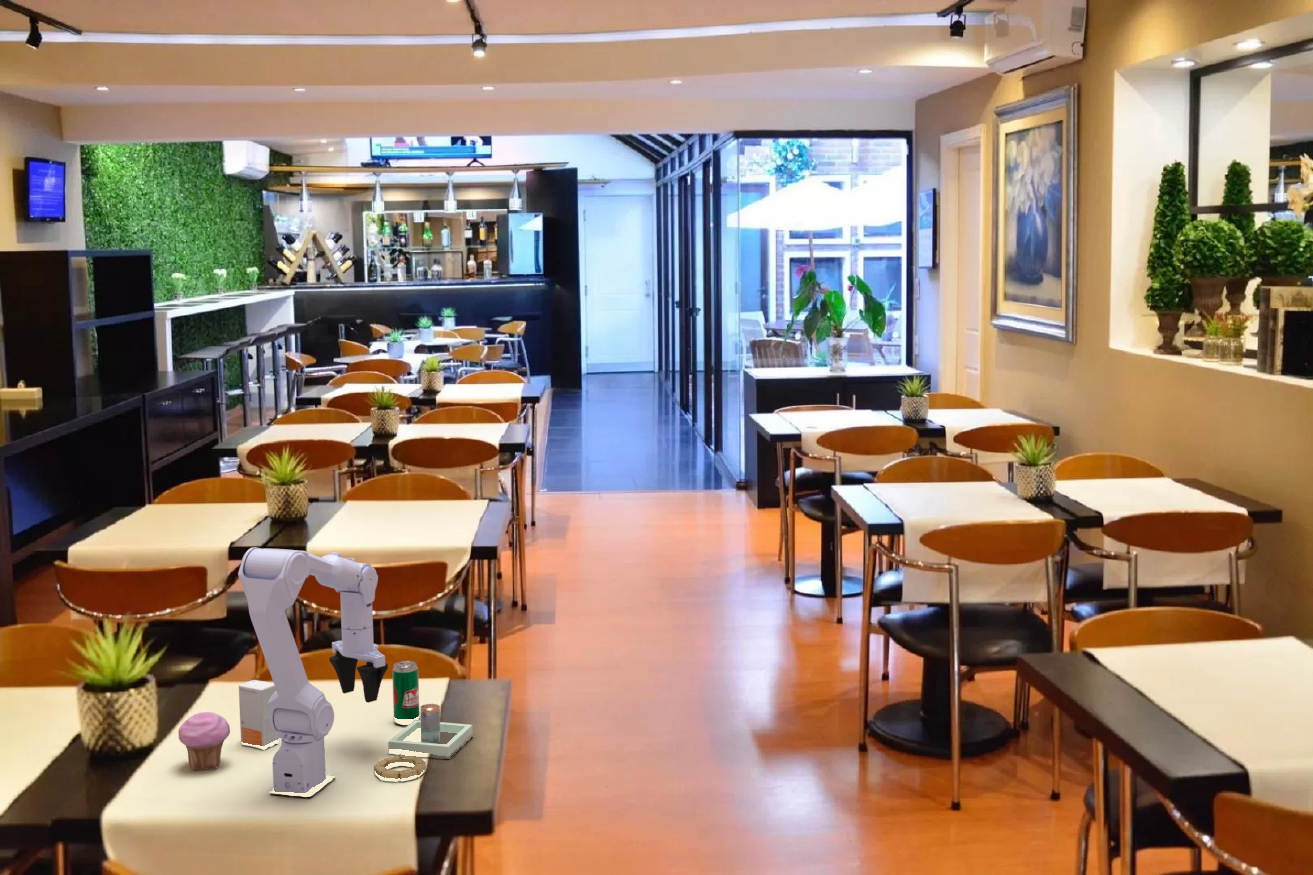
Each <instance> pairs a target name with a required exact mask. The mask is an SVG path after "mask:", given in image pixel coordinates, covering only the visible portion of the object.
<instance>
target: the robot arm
mask: <svg viewBox="0 0 1313 875" xmlns="http://www.w3.org/2000/svg"><path fill="white" fill-rule="evenodd" d="M342 556H343V554H342V553H341V552H335V551H332V552H331V553H330V554H325V555H323V556H321V557H320V556H317V555H315V554H312V553H310V552H308V551H306V550H297V549H296V550H294V549H284V548H282V549H281V548H260V547H256V546H255V547H254V546H253V547H250V548H249V549H248V550H247V551H246V552H245V553H244V554H243V557H242V559H241V562H240V566H239V570H238V573H237V575H238V579H239V580H240V583H241V587H242V589H243V592H244V593H243V594H244V595H245V597H246V600H247V604H248V605H247V606H248V607H247V608H248V613H249V616H250V621H251V623H252V626H253V628H254V632H255V634H256V637H257V640H258V642H259V645H260V646H259V647H260V649H261V651H262V653H263V657H264V659H265V662H266V665H267V668H268V671H269V673H270V675H271V679H272V683H273V684H274V685H275V688H276V691H275V692H274V693H273V695H272V696H271V698H270V700H269V702H268V706H269V709H270V723H271V726H272V728H273V730H274V731H276V732H278V738H279V739H281V742H280V746H279V748H278V750H277V751H276V752H275V753H274V755H273V756H272V757H273V758H272V780H273V782H272V783H273V788H274V791H275V792H294V793H306V792H308V791H309V790H310V789H311V788H312V787H315V786H316V785H318V784H320V783H322V782H323V781H324V780H325V779H326V775H327V774H326V755H325V753H326V752H325V749H326V748H325V737H326V736H327V735H328V734H329V733H330V731H331V730H332V728H333V725H334V723H335V722H334V721H335V711H334V707H333V705H332V704H331V702H329V701H328V700H327V698H326V696H325V693H324V692H323V691H322V690H320V689H319V688H317V687H316V686H315V685H313V684H312V683H310V682H309V680H308V676H307V674H306V673H307V672H306V670H305V668H304V664H303V660H302V659H301V656H300V652H299V649H298V647H297V644H296V640H295V638H294V634H293V632H292V629H291V626H290V622H289V621H288V617H287V614H286V612H285V611H286V609H288V608H290V607H292V606H294V603H295V602H296V600H297V597H298V596H299V593H300V591H301V589H302V587H303V584H304V583H305V581H306V579H307V578H309V576H314V577H315V580H316V582H317V583H318V584H319V585H321V586H324V587H327V588H331V589H334V591H335V592H336V593H340V594H339V595H340V597H339V598H340V619H341V620H340V621H341V622H340V623H341V624H340V625H341V640H337V641H332V642H331V648H332V649H331V650H332V651H331V652H332V653H334V655H333V656H330V657H328V658H329V659H328V660H329V663H330V664H331V665H332V667H333V669H334V671H335V673H336V677H337V678H338V682H339V685H340V690H341V692H342V694H348V693H352V692H354V690H355V687H356V670H357V672H358V674H359V676H360V679H361V683H362V690H363V697H364V701H365V702H366V703H372V702H375V701H378V698H379V692H380V688H381V684H382V681H383V678H384V675H385V674H386V672H387V670H388V669H389V663H387V662H386V656H385V654H382V653H381V652H380V651H379V650H378V649H379V645H378V644H376V643H374V620H373V618H374V617H373V602H375V598H376V596H375V595H376V590H377V586H378V581H379V580H378V579H379V575H378V574H377V571H376V568H375V567H373V566H372V564H370V563H365V562H363V563H362V562H356V559H355V558H353V557H346V558H345V557H342ZM358 661H362V662H364V663H366V664H364V665H360V666H359V665H358ZM357 665H358V666H357Z"/></svg>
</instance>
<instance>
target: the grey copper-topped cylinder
mask: <svg viewBox="0 0 1313 875" xmlns="http://www.w3.org/2000/svg"><path fill="white" fill-rule="evenodd" d="M420 721H421V742H423V743H435V744H438V743H439V742H440V722H441V707H440V704H437V703H426V704H423V705H421V706H420Z"/></svg>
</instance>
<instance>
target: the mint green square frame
mask: <svg viewBox="0 0 1313 875" xmlns="http://www.w3.org/2000/svg"><path fill="white" fill-rule="evenodd" d="M473 727H474V726H473V724H468V723H467V724H464V723H455V722H454V723H453V722H442V721H440V732H448V733H456V734H457V735H455V736H454V737H453V738H452V739H451V740H450V741H449V742H448V743H447V744H435V743H423V742H412V741H403V740H404V739H405V738H406V737H407V736H409V735H410V734H411V733H412V732H414V731H415V730H416V729H417V728H421V719H419V720H414V721H413V722H412V723H411V724H409V725H408V726H405V727H404V728H403V729H402V730H401V731H399V732H398V733H396V735H394V736H393V737H392V738H391V739H389V740H388V742H387V743H388V744H387V746H388V749H402V750H409V751H414V752H415V751H416V752H422V753H429V754H433V755H437V756H446V757H449V756H450V755H451V753H453V752H454V751H455V750H456V749H458V748H459V746H460V745H462V744H463V742H464V741H465V740H467V739H468V737H469V736H471V735H472V734H473V733H474V730H473V729H474V728H473ZM473 735H474V734H473Z"/></svg>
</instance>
